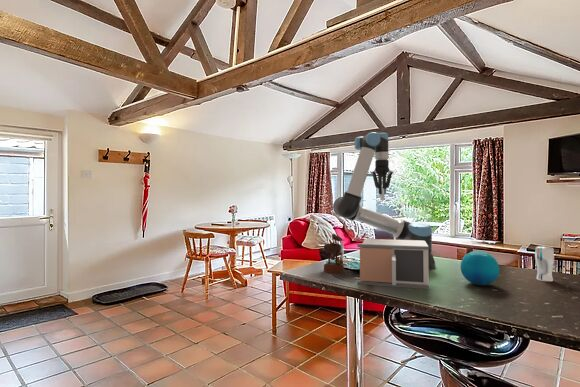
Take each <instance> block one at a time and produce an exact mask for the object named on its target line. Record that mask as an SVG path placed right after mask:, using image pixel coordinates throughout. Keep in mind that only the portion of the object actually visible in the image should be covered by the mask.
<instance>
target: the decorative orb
mask: <svg viewBox="0 0 580 387" xmlns="http://www.w3.org/2000/svg"><path fill="white" fill-rule="evenodd" d="M460 271H461V274H462V276H463V277H464V279H465V280H467V282H469V283H471V284H473V285H476V286H479V287H480V286H481V287H482V286H489V285H491V284H493V283H494V282H495V281H497V279H498V278H499V275H500V267H499V263H498V260H497V259H496V258H495V257H494V256H493V255H492V254H490V253H488V252H486V251H483V250H474V251H470V252H469V253H468V252H467V253H466V254H465V255H464V256H463V257H462V260H461V261H460Z"/></svg>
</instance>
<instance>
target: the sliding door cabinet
mask: <svg viewBox="0 0 580 387" xmlns="http://www.w3.org/2000/svg"><path fill="white" fill-rule="evenodd" d="M356 247H357V248H360V247H367V248H392V254H393V255H396V285H392V283H389V282H374V281H360V279H359V280H357V285H368V286H380V287H381V286H382V287H384V286H385V287H395V288H410V289H411V288H414V289H425V290H430V285H429V283H430V281H429V274H430V273H429V270H430V269H428V250H429V247H428V245H427V243H426V242H425V241H422V240H399V239H388V238H387V239H380V238H378V239H377V238H376V239H375V238H364V240H363V241H362V243H357V246H356Z"/></svg>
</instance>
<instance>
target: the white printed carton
mask: <svg viewBox="0 0 580 387" xmlns="http://www.w3.org/2000/svg"><path fill="white" fill-rule="evenodd" d="M534 259H535V260H534V261H535V265H536V270H537V271H536V280H537V281H539V282H540V281H541V282H546V283H548V282H549V283H551V282H553V281H554V279H553V274H552V273H553V268H554V263H555V250H554V247H552V246H542V245H541V246H539V245H538V246H535V251H534Z"/></svg>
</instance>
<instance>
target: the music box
mask: <svg viewBox="0 0 580 387" xmlns="http://www.w3.org/2000/svg"><path fill="white" fill-rule="evenodd" d="M331 238H332V240H333V241H332V242H331V241H330V243H325V244H324V246H323V251H324V252H325V253H328V254H327V255H326V254H324V253H318V254H319V255H320V256H323V257H324V258H327V260H328V261H327V262H326V263H324V264H323V272H324V273H326V274H329V275H330V274H333V275H337V274H343V273H344V272H345V267H344V266H345V264H343V260H342V259H341V257H340V255H342V253H341V249H342V247H341V242H345V239H343V238H342V237H341V236H339V235H337V234H336V233H332V234H331ZM335 241H336V242H337V243H336V242H335ZM339 243H340V244H339ZM339 259H340V260H339ZM331 260H332V261H334V262H331Z"/></svg>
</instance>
